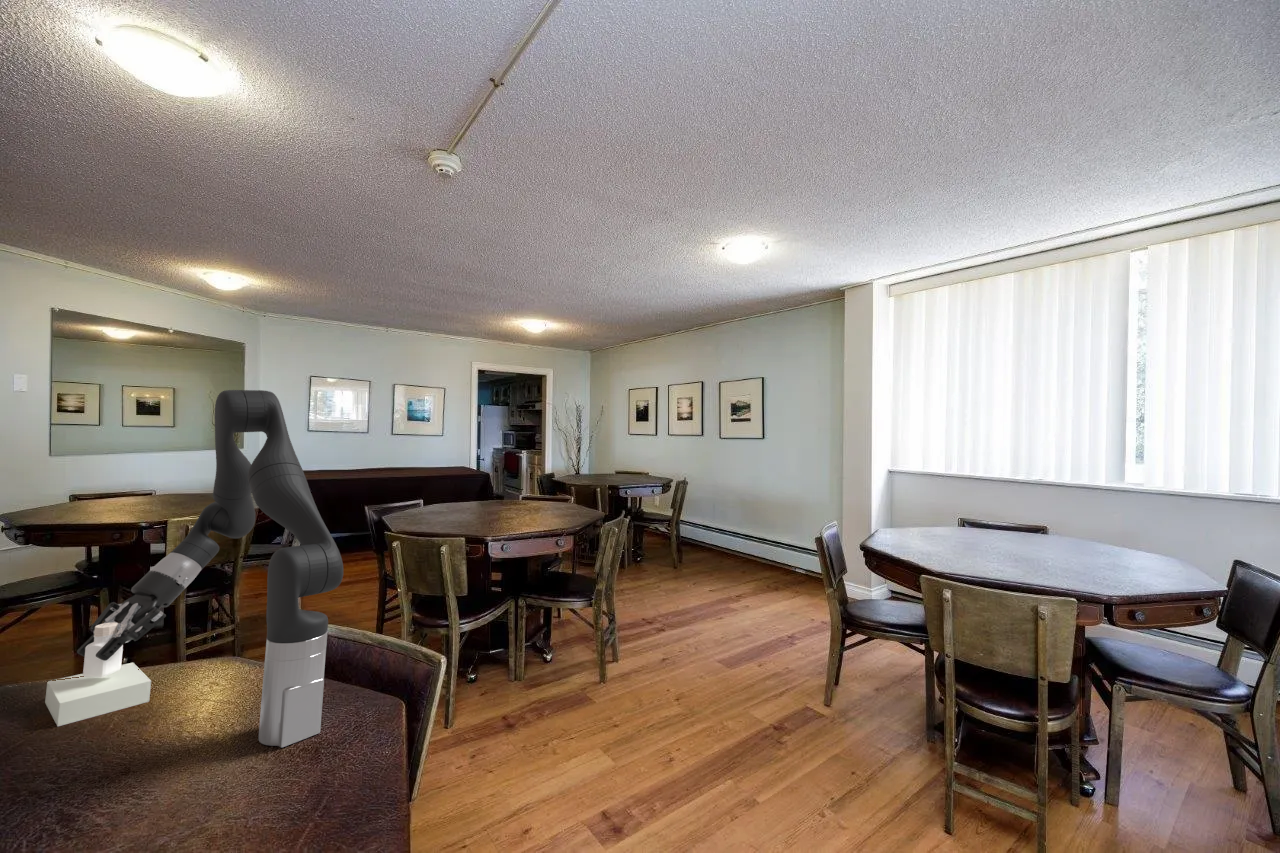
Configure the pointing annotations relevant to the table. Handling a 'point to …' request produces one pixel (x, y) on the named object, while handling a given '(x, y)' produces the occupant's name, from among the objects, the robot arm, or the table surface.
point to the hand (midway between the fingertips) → (91, 656)
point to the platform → (96, 694)
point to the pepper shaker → (101, 637)
